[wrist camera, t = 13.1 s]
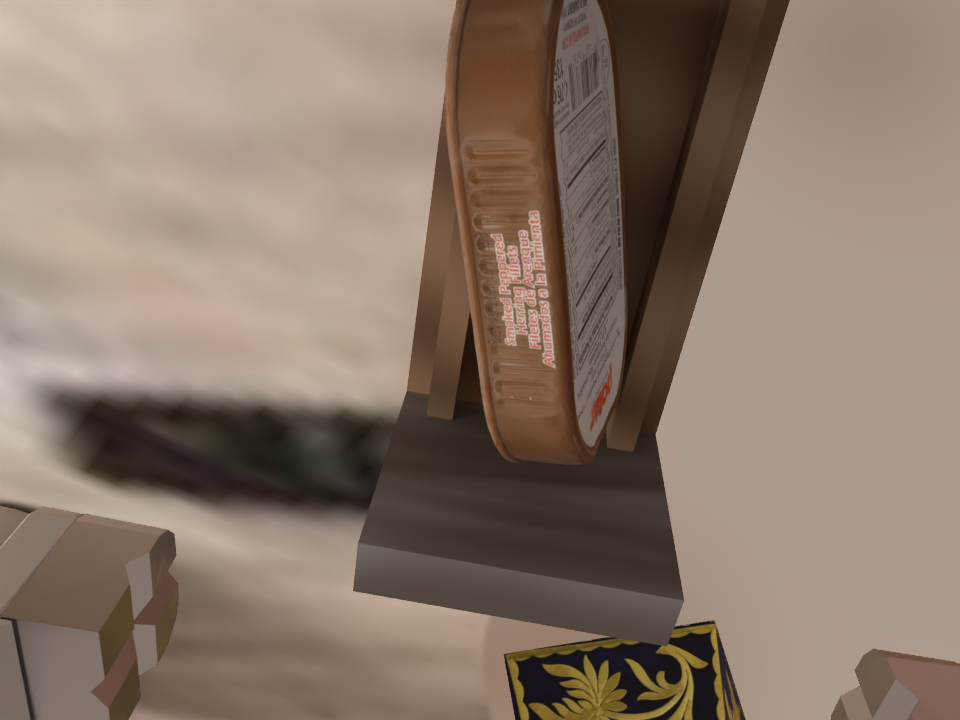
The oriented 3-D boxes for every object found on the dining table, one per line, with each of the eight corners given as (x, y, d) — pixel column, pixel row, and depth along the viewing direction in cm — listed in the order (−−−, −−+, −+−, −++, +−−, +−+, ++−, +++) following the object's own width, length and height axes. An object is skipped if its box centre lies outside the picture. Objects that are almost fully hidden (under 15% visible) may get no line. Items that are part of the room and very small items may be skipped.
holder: (497, -264, 24) (454, -372, 15) (834, -206, 24) (1011, -276, 15) (408, 416, 36) (351, 602, 26) (636, 456, 36) (662, 657, 26)
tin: (531, -55, 25) (396, -20, 19) (634, -67, 24) (528, -33, 17) (567, 377, 32) (480, 513, 26) (648, 386, 31) (578, 531, 24)
